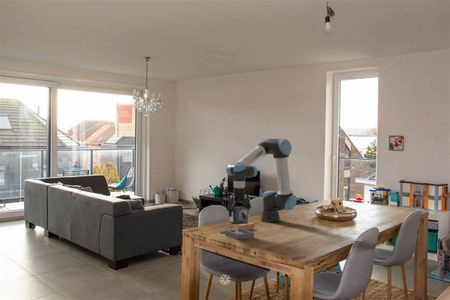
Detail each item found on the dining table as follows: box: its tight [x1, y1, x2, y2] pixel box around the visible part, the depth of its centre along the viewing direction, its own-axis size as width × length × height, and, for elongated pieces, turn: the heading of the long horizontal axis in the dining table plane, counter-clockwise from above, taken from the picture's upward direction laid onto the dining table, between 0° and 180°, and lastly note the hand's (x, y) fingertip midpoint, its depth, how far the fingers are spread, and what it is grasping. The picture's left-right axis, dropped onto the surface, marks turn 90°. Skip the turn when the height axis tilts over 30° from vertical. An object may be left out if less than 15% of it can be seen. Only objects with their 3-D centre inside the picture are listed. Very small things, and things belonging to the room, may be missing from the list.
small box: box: [229, 205, 249, 225], centre depth 255 cm, size 11×6×10 cm, turn 106°
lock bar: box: [237, 222, 256, 231], centre depth 272 cm, size 13×3×4 cm, turn 126°
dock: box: [219, 227, 255, 241], centre depth 258 cm, size 12×21×3 cm, turn 36°
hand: (238, 220), depth 255 cm, fingers closed on small box, 11 cm apart
